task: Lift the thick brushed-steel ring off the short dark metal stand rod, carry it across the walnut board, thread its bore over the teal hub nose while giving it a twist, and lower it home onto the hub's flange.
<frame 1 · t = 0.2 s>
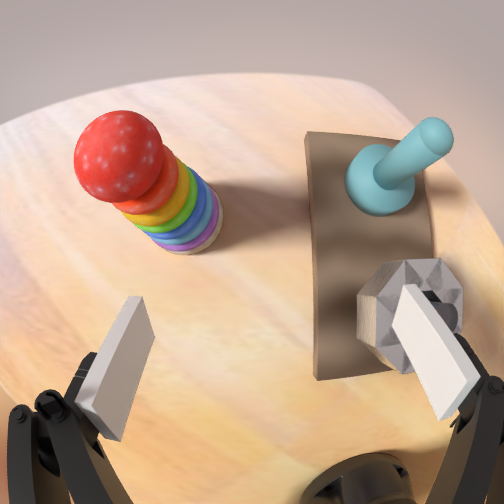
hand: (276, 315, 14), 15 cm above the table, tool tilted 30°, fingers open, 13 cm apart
steel ring: (400, 311, 23), point 6 cm above the table, touching stand rod
walnut board: (373, 251, 30), on the table
stand rod: (374, 306, 29), resting on walnut board
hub: (367, 190, 30), resting on walnut board
stacking toy: (187, 218, 30), on the table
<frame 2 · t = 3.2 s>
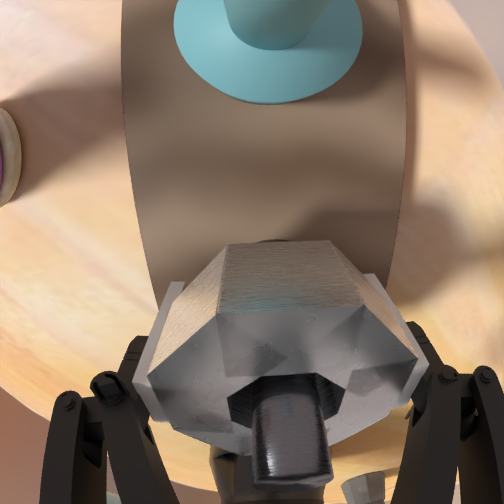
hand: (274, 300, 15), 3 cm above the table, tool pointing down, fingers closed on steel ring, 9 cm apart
steel ring: (278, 334, 13), point 6 cm above the table, touching gripper, stand rod
walnut board: (269, 170, 15), on the table
coffeepot: (365, 478, 41), on the table
stand rod: (271, 267, 18), resting on walnut board
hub: (264, 46, 12), resting on walnut board
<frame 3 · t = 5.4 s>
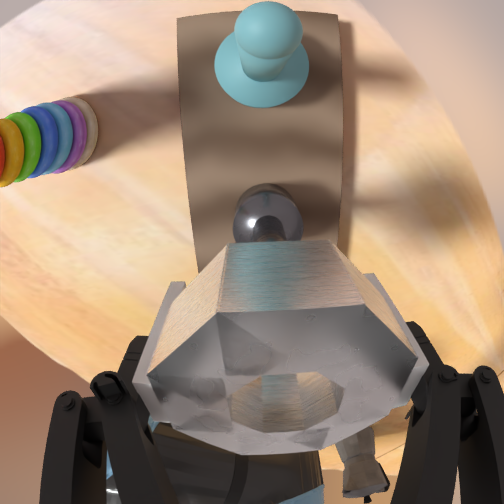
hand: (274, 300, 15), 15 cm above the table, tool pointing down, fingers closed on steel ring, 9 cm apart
steel ring: (278, 333, 13), point 18 cm above the table, touching gripper
walnut board: (263, 145, 25), on the table
coffeepot: (356, 434, 51), on the table
stand rod: (265, 206, 28), resting on walnut board
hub: (260, 73, 22), resting on walnut board
stacking toy: (72, 132, 24), on the table
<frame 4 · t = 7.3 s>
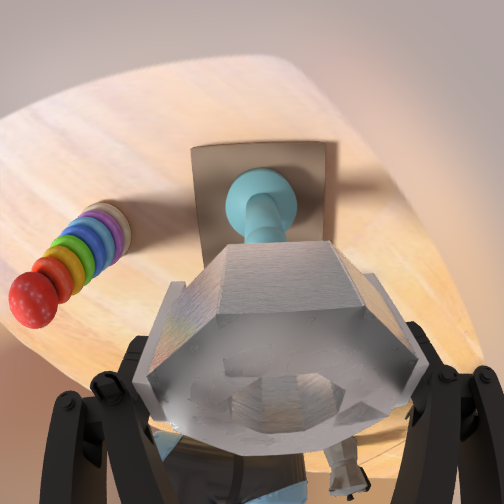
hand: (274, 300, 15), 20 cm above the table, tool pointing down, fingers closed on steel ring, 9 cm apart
steel ring: (278, 334, 12), point 22 cm above the table, touching gripper
walnut board: (262, 250, 36), on the table
coffeepot: (342, 443, 61), on the table
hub: (259, 194, 32), resting on walnut board
stacking toy: (107, 229, 34), on the table
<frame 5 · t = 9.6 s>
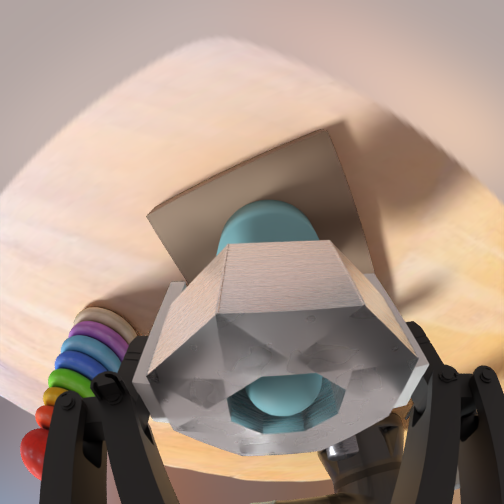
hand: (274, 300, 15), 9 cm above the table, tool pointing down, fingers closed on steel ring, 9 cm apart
steel ring: (278, 334, 12), point 11 cm above the table, touching gripper
walnut board: (298, 300, 26), on the table
stand rod: (317, 342, 28), resting on walnut board
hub: (266, 235, 23), resting on walnut board
stacking toy: (109, 331, 28), on the table
when the fingers open (3 cm above the table, at t = 11.7 s): steel ring stays where it is, resting on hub.
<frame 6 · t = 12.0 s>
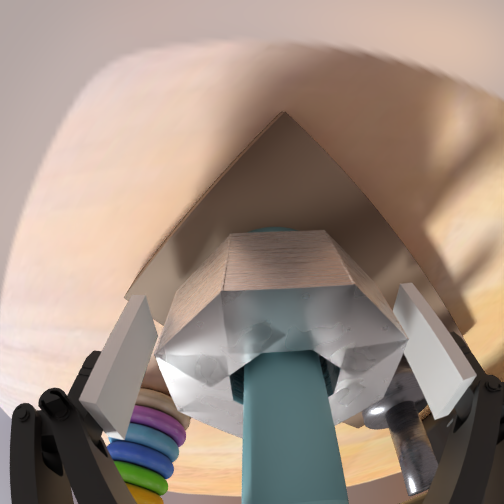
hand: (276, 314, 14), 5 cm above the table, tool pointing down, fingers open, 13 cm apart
steel ring: (277, 320, 13), point 5 cm above the table, touching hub
walnut board: (338, 323, 20), on the table
stand rod: (377, 355, 22), resting on walnut board
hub: (271, 267, 18), resting on walnut board
stacking toy: (154, 404, 26), on the table
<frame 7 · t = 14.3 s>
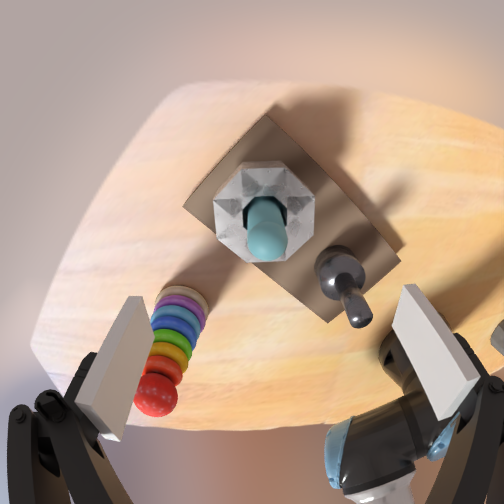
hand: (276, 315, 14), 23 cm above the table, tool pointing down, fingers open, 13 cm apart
steel ring: (263, 204, 29), point 5 cm above the table, touching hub
walnut board: (301, 228, 36), on the table
stand rod: (331, 257, 38), resting on walnut board
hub: (261, 191, 34), resting on walnut board
stacking toy: (182, 304, 42), on the table
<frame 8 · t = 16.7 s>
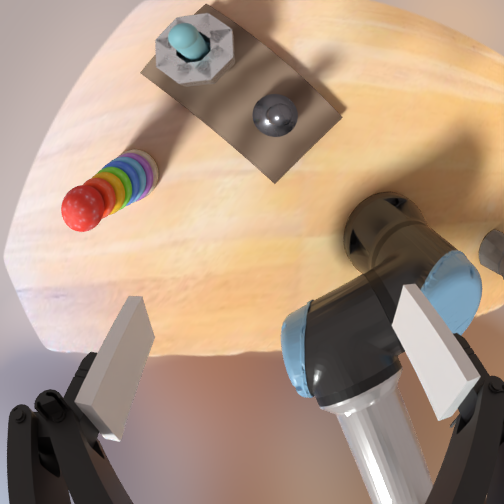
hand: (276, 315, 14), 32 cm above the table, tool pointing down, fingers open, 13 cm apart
steel ring: (199, 53, 29), point 5 cm above the table, touching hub
walnut board: (240, 88, 36), on the table
coffeepot: (493, 246, 47), on the table
stand rod: (271, 115, 38), resting on walnut board
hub: (204, 60, 34), resting on walnut board
stacking toy: (136, 173, 42), on the table
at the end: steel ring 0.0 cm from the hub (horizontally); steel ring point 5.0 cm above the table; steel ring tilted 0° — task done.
